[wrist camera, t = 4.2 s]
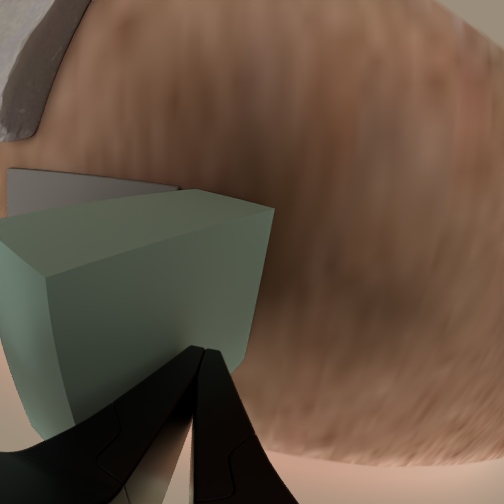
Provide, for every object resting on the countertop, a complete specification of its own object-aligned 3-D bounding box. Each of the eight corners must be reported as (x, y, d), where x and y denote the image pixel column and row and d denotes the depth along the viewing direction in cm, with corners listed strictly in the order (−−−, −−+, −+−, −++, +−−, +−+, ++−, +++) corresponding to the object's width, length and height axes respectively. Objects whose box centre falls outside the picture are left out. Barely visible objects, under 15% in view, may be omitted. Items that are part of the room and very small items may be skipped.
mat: (179, 186, 13) (176, 187, 13) (166, 343, 16) (164, 347, 15) (12, 167, 13) (7, 168, 13) (19, 299, 15) (16, 302, 15)
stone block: (-26, 117, 14) (44, 151, 13) (-78, 116, 9) (-33, 152, 8) (42, -34, 10) (142, -51, 9) (-2, -55, 6) (92, -96, 5)
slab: (274, 208, 12) (45, 278, 4) (244, 359, 14) (103, 495, 6) (196, 188, 13) (-19, 223, 5) (180, 330, 15) (31, 426, 7)
